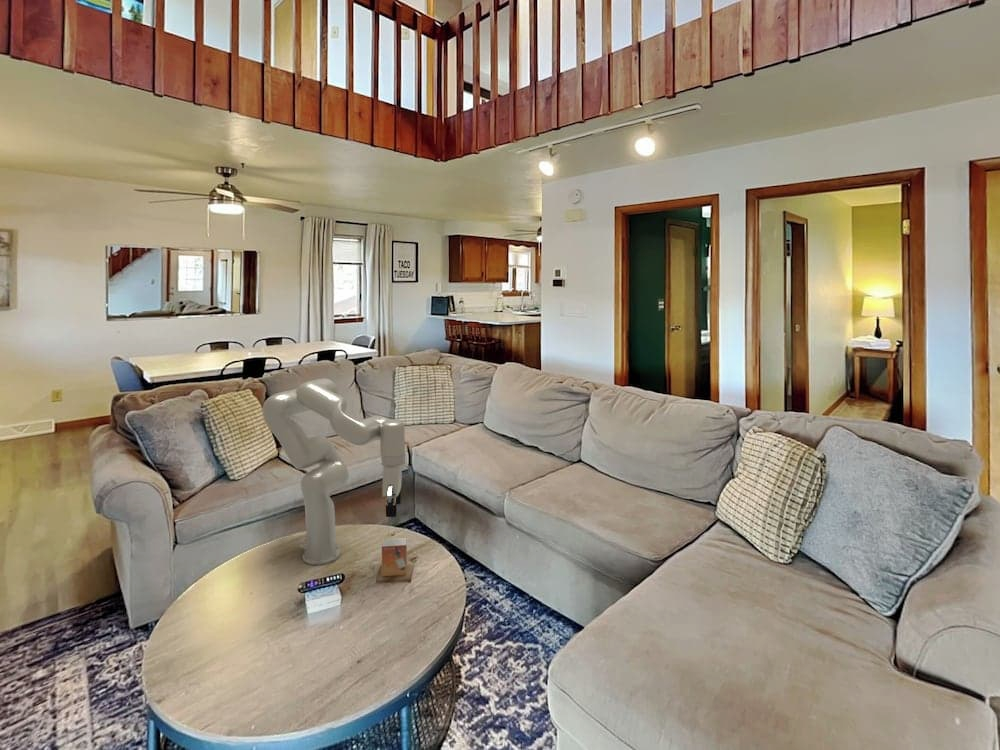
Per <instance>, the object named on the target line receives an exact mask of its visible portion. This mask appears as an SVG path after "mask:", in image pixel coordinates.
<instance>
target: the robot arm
mask: <svg viewBox="0 0 1000 750" xmlns="http://www.w3.org/2000/svg"><path fill="white" fill-rule="evenodd" d="M338 393H339V391H338V387H337V385H336V383H335V381H333V380H331V379H330V378H325V377H324V378H317V379H313V380H309V381H308V380H307V381H305V382H304V383H301V384H300V385H299V386H298V387H297V388H294V389H291V390H286V391H281V392H277V393H274V394H272V395H271V396H269V397H268V398H267V399H266V400H265V401H264V403H263V405H262V417H263V421H264V423H265V424H266V426H267V428H268V429H269V430H270V432H271V433H272V434H273V435H274V437H276V439H277V440H278V442H279V444H280V446H281V447H282V449H283V451H284V453H285V454H286V456H287V458H288V460H289V461H290V463H291V464H292V466H293V467H294V468H295V469H297V470H299V471H300V470H301V471H302V470H306V469H309V468H312V467H313V466H316V465H318V467H316V468H313V469H312V470H310V471H308V472H306V474H304V475H303V476H302V478H301V481H300V490H301V493H302V496H303V503H304V504H303V505H304V511H305V512H304V513H305V514H304V515H305V533H306V534H305V535H306V539H304V538H303V539H301V541H300V543H299V546H298V547H299V549H304V552H303V554H302V561H303V562H304V563H305V564H308V565H315V566H316V565H317V566H318V565H319V566H321V565H325V564H329V563H330V564H331V563H332V562H334V561H336V560H338V558H339V557H340V556H341V553H342V551H341V548H340V547H339V546H337V541H336V540H337V538H336V537H337V535H336V515H335V513H336V512H335V504H334V502H333V499H332V498H331V496H330V494H331V493H332V492H334V491H335V490H337V489H339V488H341V487H343V486H345V484H346V483H347V482H348V480H349V470H348V468H347V465H346V464H345V462H344V460H343V458H342V457H341V455H340V454H339V452H338V450H337V449H336V447H335V445H334V444H333V442H332V441H331V439H329V438H327V437H326V436H324V435H314V436H311V437H308V435H307V434H306V433H305V431H304V429H303V427H302V426H301V425H300V424H298V422H297V421H295V420H294V419H292V418H290V416H294V415H297V414H300V413H304V412H307V411H312V412H315V413H316V414H318V415H319V416H321V417H323V418H325V419H326V420H328V421H329V424H330V426H331V429H332V430H333V432H334V433H335V434H336V435H337V436H338V437H340V438H342V439H343V440H345V441H346V442H347V443H350V444H352V445H355V446H361V447H362V446H366V445H368V444H370V443H372V442H375V441H378V440H379V442H380V445H379V447H380V450H379V451H380V465H381V466H382V468H383V469H382V492H381V495H382V496H381V497H383V498H386V499H385V517H386V518H396V517H397V514H398V513H397V505H400V504H401V503H402V502H401V497H402V496H401V495H402V493H401V489H402V480H403V479H402V478H403V477H402V476H403V475H402V474H403V473H402V466H403V465H405V463H406V459H405V458H406V456H405V455H406V453H405V452H406V451H405V450H406V449H405V448H406V447H405V445H406V444H405V443H406V442H405V441H406V440H405V439H406V437H405V434H406V433H405V422H404V421H402V420H401V419H397V418H396V419H395V418H391V419H390V418H388V417H385V416H383V415H372V416H370V417H366V418H363V419H361V420H359V421H357V420H355V419H353V418H352V417H349V416H348V415H346V414H345V413H346V410H347V406H348V404H347V399H345V398H344V397H343V396H341V395H339V394H338Z"/></svg>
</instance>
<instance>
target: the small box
mask: <svg viewBox="0 0 1000 750" xmlns="http://www.w3.org/2000/svg"><path fill="white" fill-rule="evenodd" d="M407 541H408V540H407V537H396V538H394V537H393V538H382V540H381V565H382V577H383V576H396V575H407V565H408V563H407V562H408V554H407V553H408V551H407V549H408V547H407V546H408V545H407Z"/></svg>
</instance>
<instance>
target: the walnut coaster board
mask: <svg viewBox="0 0 1000 750" xmlns="http://www.w3.org/2000/svg"><path fill="white" fill-rule="evenodd" d="M414 567H415V566H414V564H407V575H396V576H383V577H382V564H381V565H380V566H379V569H378V572H377V575H376V578H375V583H378V584H381V583H382V584H383V583H385V584H386V583H388V584H389V583H411V581H412V578H413V572H414Z"/></svg>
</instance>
